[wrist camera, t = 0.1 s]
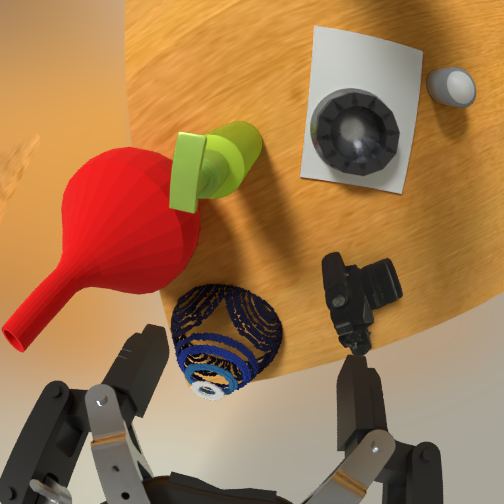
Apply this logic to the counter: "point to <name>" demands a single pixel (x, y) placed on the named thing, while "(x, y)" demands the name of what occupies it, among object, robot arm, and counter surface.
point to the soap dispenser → (212, 163)
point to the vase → (112, 237)
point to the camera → (357, 297)
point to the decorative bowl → (223, 340)
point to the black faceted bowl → (354, 132)
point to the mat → (369, 79)
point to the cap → (451, 87)
